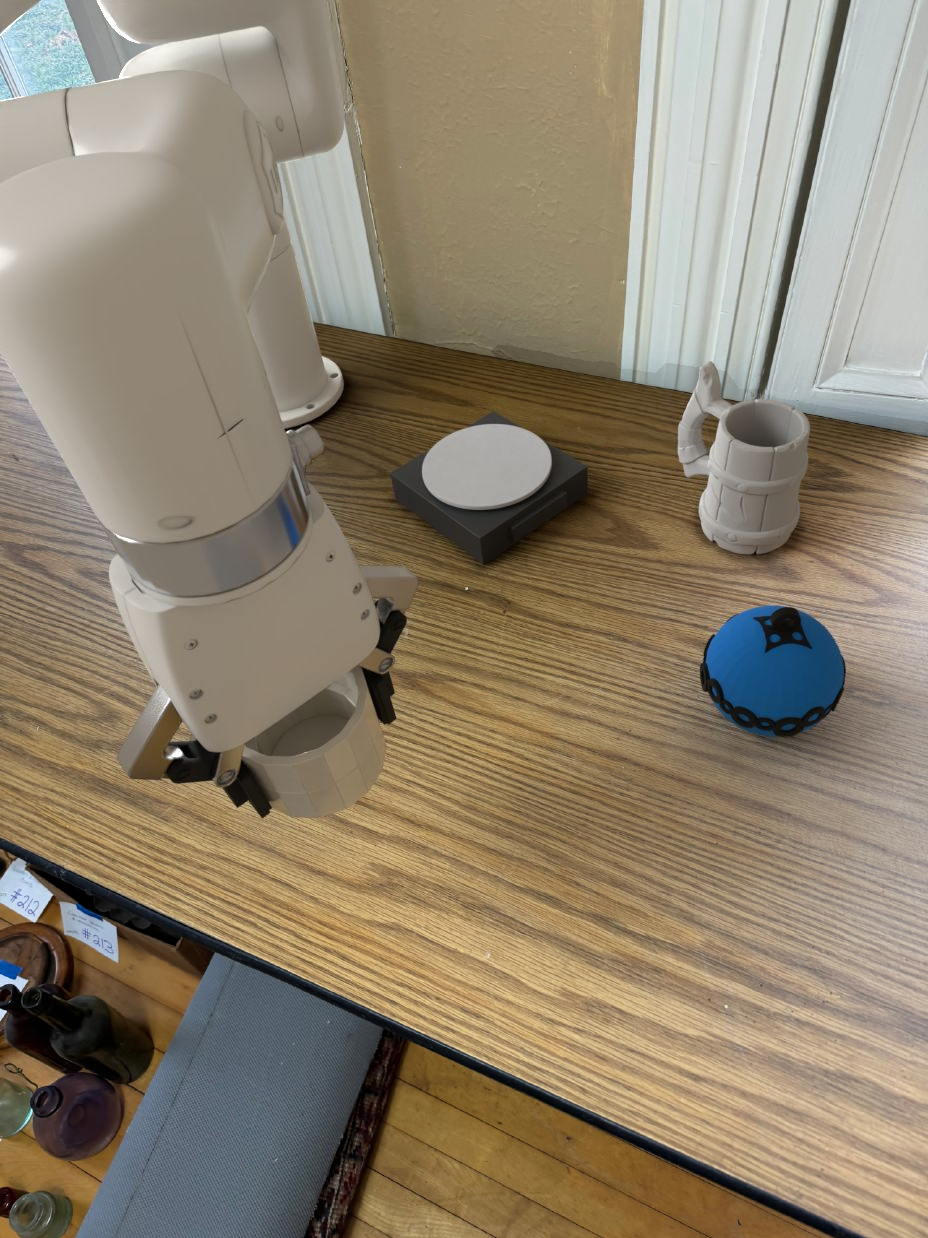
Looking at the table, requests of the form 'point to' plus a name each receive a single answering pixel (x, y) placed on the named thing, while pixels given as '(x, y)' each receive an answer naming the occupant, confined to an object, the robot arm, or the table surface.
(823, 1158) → the table surface
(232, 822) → the table surface
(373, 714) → the off-white faceted cup
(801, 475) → the mug
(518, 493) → the scale
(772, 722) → the ornament
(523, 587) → the table surface
